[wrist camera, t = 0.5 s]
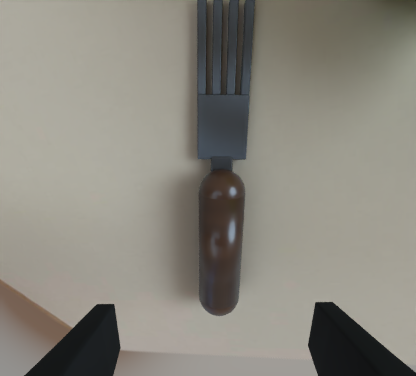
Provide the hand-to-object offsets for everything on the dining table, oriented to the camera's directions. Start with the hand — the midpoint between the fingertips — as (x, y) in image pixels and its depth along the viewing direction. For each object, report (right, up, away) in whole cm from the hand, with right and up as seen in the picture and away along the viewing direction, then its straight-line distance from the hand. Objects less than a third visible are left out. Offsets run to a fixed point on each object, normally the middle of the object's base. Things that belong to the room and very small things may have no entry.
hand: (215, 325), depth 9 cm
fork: (+1, +6, +8) cm, 10 cm away
